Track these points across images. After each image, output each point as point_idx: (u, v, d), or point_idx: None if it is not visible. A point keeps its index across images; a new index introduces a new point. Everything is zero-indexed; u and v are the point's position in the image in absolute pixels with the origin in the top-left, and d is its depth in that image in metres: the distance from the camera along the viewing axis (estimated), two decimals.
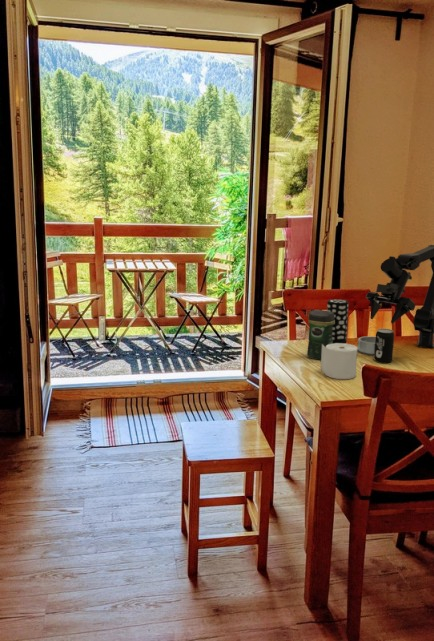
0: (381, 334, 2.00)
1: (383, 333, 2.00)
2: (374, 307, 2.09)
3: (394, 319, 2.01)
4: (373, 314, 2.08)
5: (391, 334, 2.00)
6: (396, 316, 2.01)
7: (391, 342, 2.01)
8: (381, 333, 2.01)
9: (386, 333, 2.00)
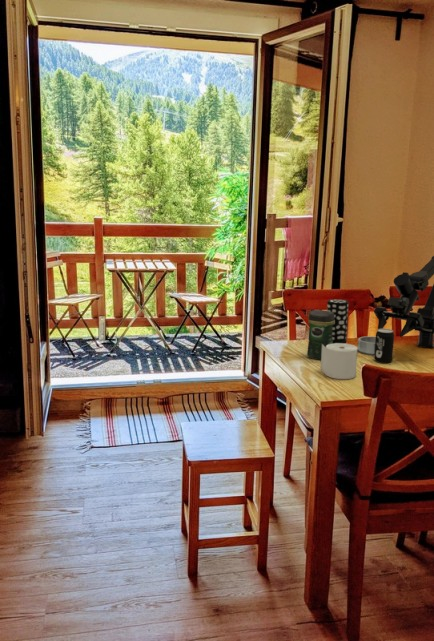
0: (381, 334, 2.00)
1: (383, 333, 2.00)
2: (382, 321, 2.09)
3: (403, 333, 2.01)
4: (380, 328, 2.08)
5: (391, 334, 2.00)
6: (405, 330, 2.01)
7: (391, 342, 2.01)
8: (381, 333, 2.01)
9: (386, 333, 2.00)
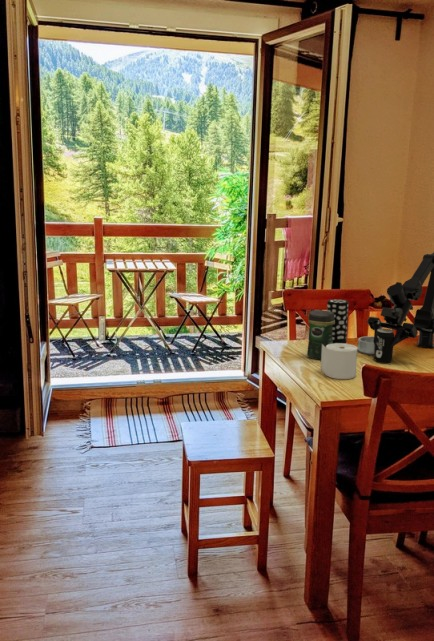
0: (381, 334, 2.00)
1: (383, 333, 2.00)
2: None
3: (393, 343, 2.00)
4: None
5: (391, 334, 2.00)
6: (396, 340, 2.00)
7: None
8: (381, 333, 2.01)
9: (386, 333, 2.00)
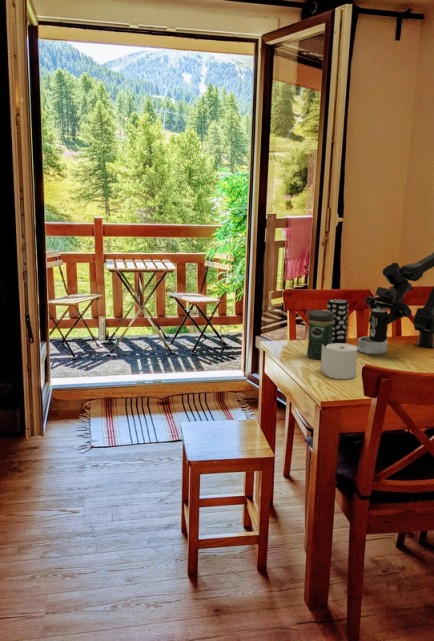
0: (374, 313, 2.05)
1: (376, 312, 2.05)
2: None
3: (386, 322, 2.04)
4: None
5: (384, 313, 2.04)
6: (389, 319, 2.04)
7: None
8: (374, 312, 2.05)
9: (379, 312, 2.04)
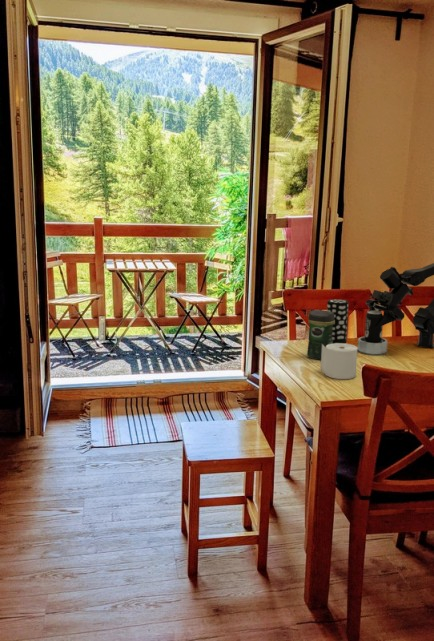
0: (368, 315, 2.14)
1: (370, 314, 2.13)
2: None
3: (379, 324, 2.12)
4: None
5: (377, 316, 2.12)
6: (381, 321, 2.11)
7: None
8: (368, 314, 2.14)
9: (372, 314, 2.12)
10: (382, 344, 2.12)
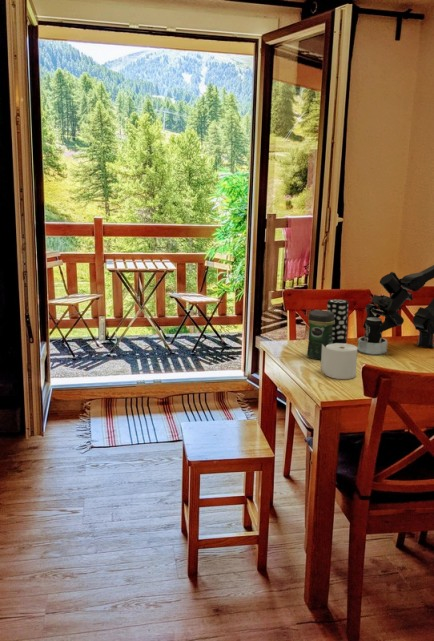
0: (368, 322, 2.14)
1: (369, 321, 2.14)
2: (369, 317, 2.20)
3: (380, 329, 2.11)
4: None
5: (377, 322, 2.13)
6: (383, 327, 2.11)
7: None
8: (368, 321, 2.14)
9: (372, 321, 2.13)
10: (382, 344, 2.12)
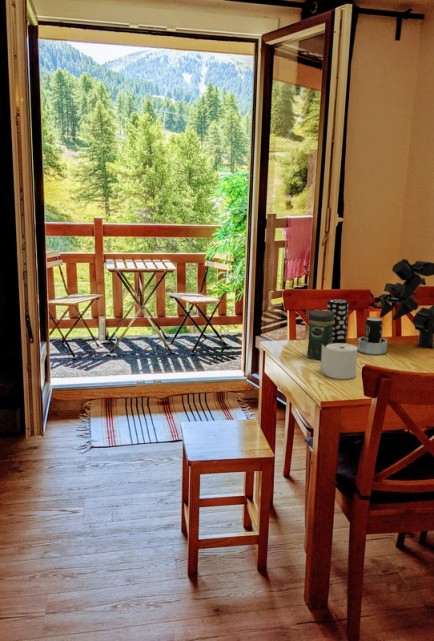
0: (368, 322, 2.14)
1: (369, 321, 2.14)
2: (384, 306, 2.21)
3: (396, 316, 2.11)
4: (383, 313, 2.20)
5: (377, 322, 2.13)
6: (398, 314, 2.11)
7: (377, 330, 2.13)
8: (368, 321, 2.14)
9: (372, 321, 2.13)
10: (382, 344, 2.12)
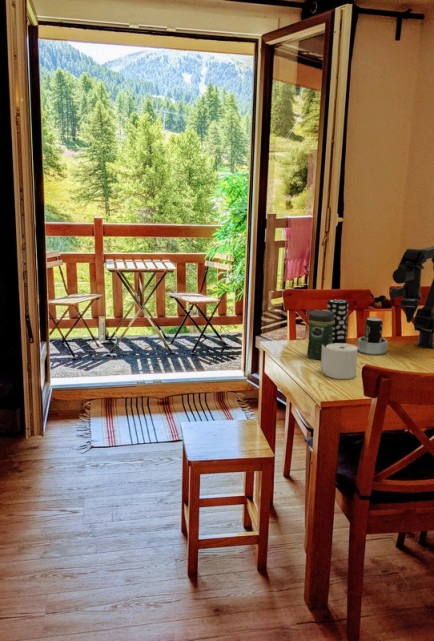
0: (368, 322, 2.14)
1: (369, 321, 2.14)
2: None
3: (408, 319, 2.10)
4: None
5: (377, 322, 2.13)
6: (407, 316, 2.09)
7: (377, 330, 2.13)
8: (368, 321, 2.14)
9: (372, 321, 2.13)
10: (382, 344, 2.12)
